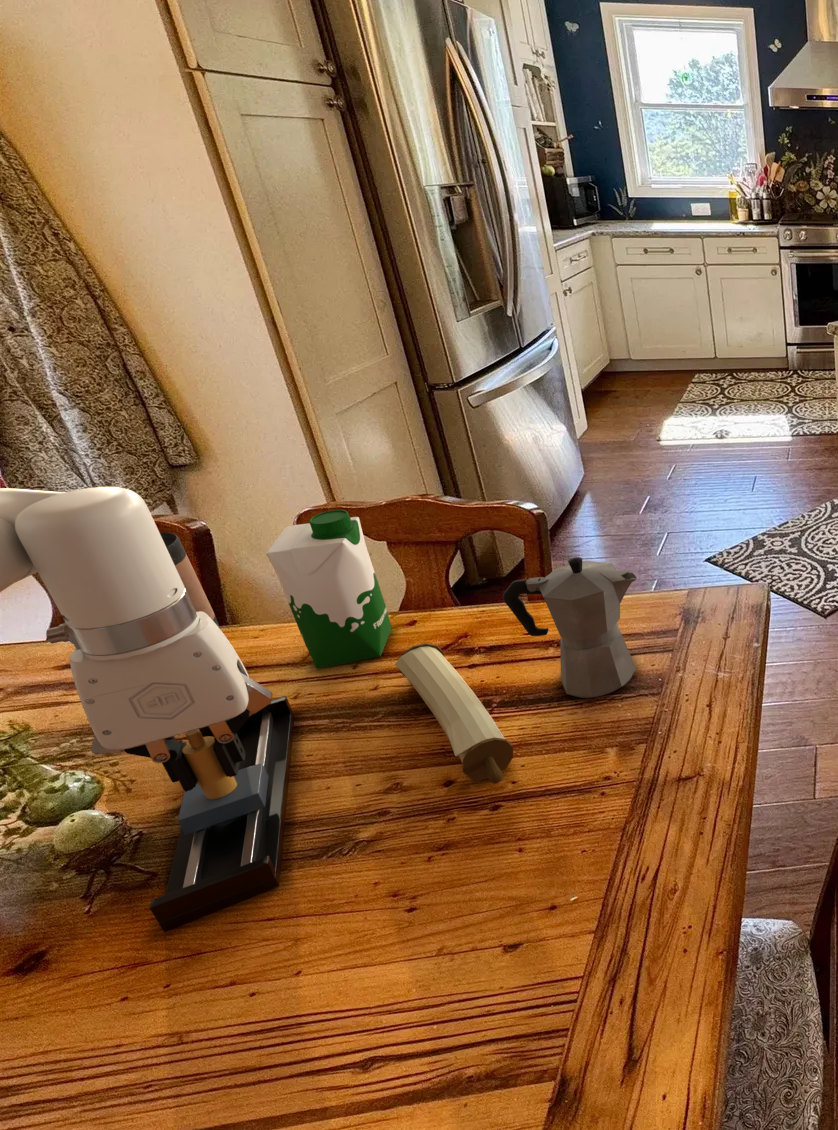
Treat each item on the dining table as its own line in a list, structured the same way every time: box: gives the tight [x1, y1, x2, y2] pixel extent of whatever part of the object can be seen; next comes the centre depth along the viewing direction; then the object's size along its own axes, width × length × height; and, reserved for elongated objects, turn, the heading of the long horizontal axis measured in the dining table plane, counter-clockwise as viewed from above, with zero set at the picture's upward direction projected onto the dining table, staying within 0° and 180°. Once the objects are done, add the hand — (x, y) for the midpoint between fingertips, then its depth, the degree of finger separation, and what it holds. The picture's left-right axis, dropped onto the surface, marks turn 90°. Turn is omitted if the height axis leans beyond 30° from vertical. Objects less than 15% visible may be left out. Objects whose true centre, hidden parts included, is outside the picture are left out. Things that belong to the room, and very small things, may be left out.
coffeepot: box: [502, 556, 638, 699], centre depth 97 cm, size 15×9×18 cm, turn 104°
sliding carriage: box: [177, 729, 269, 835], centre depth 76 cm, size 6×5×10 cm
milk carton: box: [265, 509, 393, 670], centre depth 101 cm, size 9×9×20 cm
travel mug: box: [159, 531, 222, 631], centre depth 93 cm, size 8×8×20 cm
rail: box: [149, 695, 295, 932], centre depth 80 cm, size 8×28×3 cm, turn 36°
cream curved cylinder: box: [394, 642, 514, 784], centre depth 91 cm, size 32×6×5 cm, turn 47°
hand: (213, 773), depth 76 cm, fingers closed on sliding carriage, 2 cm apart
